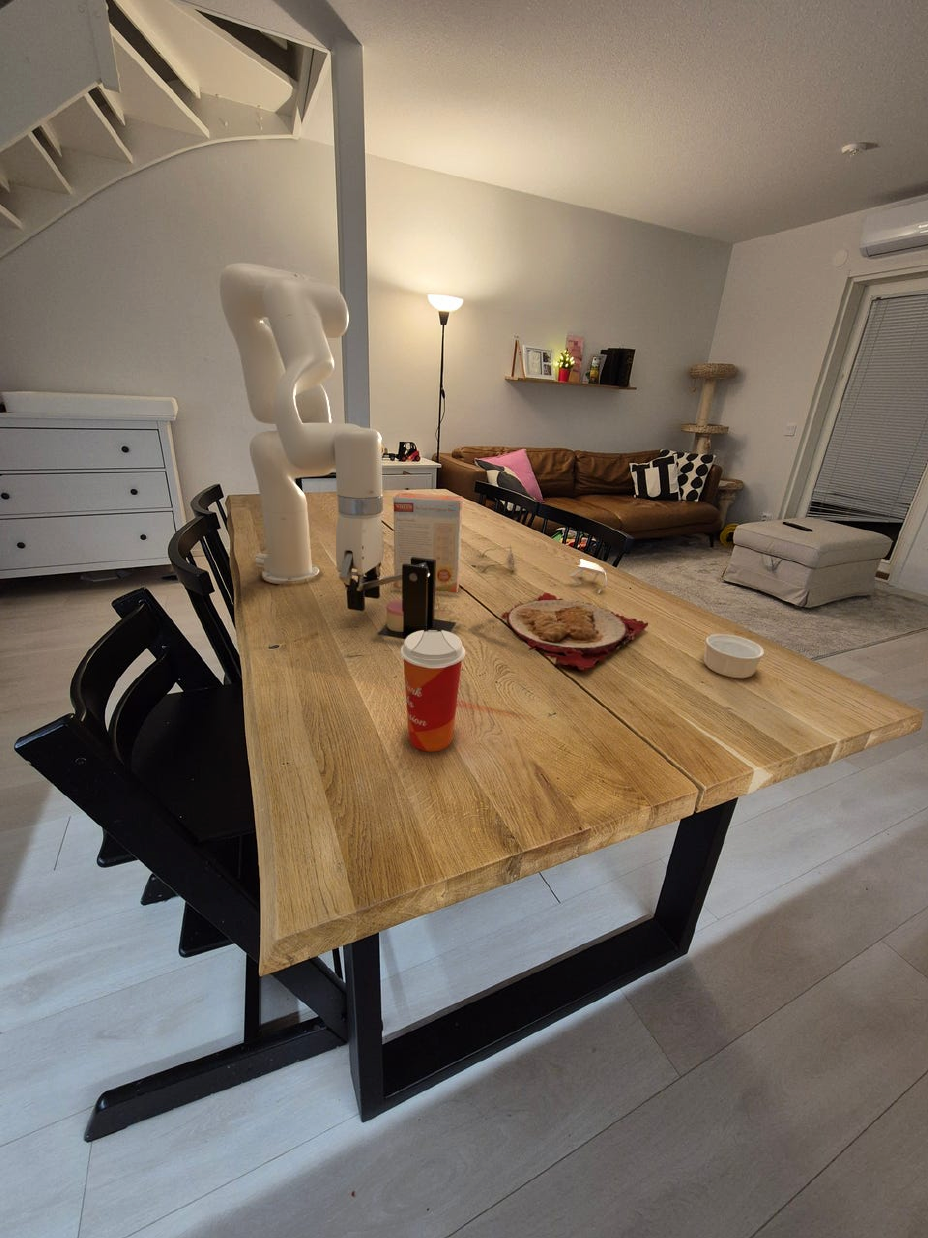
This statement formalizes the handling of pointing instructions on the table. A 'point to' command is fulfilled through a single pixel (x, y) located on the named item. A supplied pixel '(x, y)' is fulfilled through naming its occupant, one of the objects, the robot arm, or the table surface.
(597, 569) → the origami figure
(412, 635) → the paper cup
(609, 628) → the plate with food
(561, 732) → the table surface
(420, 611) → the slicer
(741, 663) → the ramekin
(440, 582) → the cracker box
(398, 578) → the lever
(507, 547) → the eyeglasses
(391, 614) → the cake
